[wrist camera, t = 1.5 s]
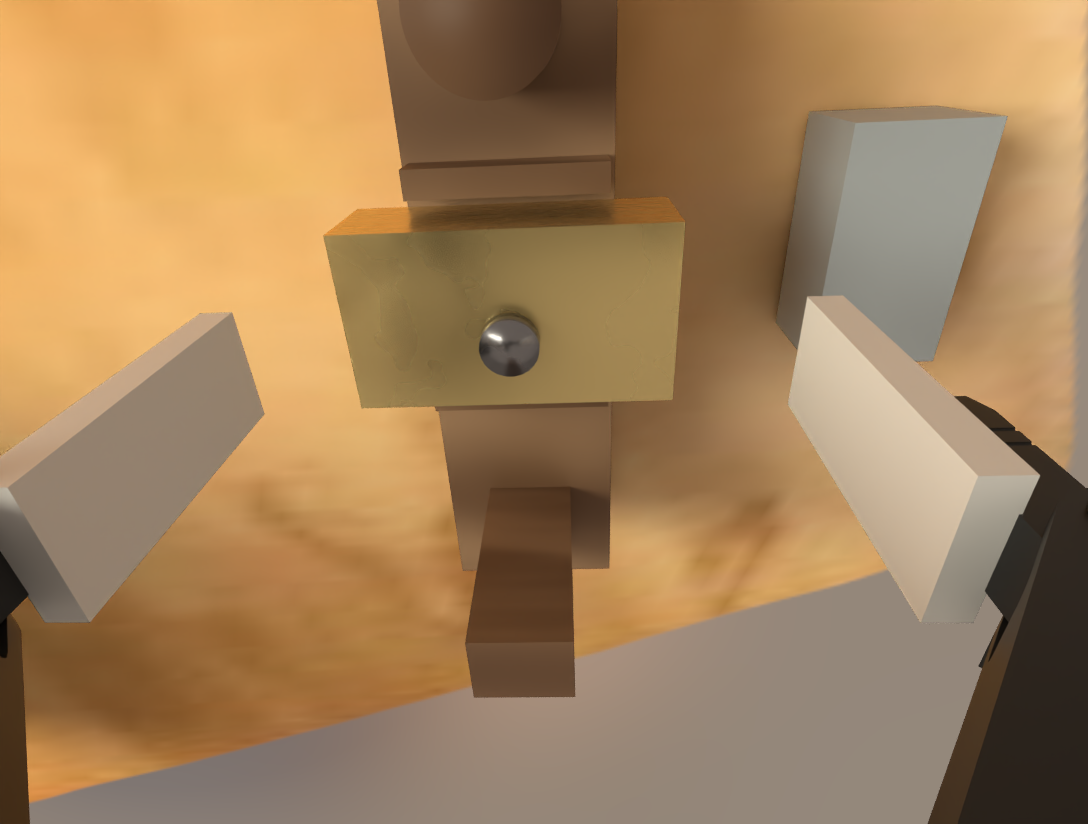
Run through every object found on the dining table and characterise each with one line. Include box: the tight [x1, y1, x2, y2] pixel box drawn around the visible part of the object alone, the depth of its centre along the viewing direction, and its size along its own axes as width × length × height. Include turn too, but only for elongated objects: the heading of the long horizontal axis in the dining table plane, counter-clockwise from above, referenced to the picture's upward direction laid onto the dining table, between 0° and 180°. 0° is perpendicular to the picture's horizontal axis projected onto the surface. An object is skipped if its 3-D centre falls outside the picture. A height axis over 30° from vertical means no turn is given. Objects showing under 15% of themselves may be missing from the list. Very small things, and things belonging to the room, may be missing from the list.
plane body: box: [377, 0, 617, 697], centre depth 19 cm, size 24×6×13 cm, turn 2°
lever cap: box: [323, 197, 685, 408], centre depth 18 cm, size 5×9×4 cm, turn 92°
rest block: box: [776, 106, 1008, 361], centre depth 22 cm, size 4×8×4 cm, turn 2°
